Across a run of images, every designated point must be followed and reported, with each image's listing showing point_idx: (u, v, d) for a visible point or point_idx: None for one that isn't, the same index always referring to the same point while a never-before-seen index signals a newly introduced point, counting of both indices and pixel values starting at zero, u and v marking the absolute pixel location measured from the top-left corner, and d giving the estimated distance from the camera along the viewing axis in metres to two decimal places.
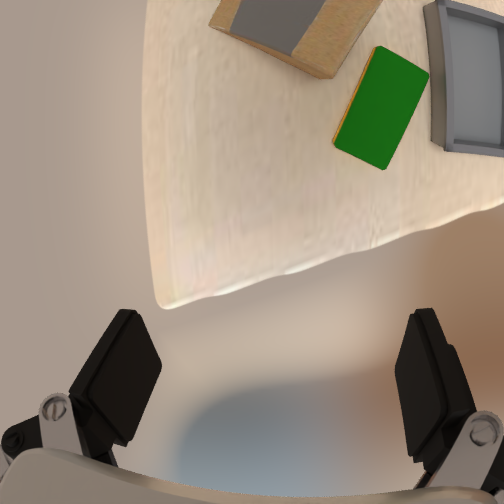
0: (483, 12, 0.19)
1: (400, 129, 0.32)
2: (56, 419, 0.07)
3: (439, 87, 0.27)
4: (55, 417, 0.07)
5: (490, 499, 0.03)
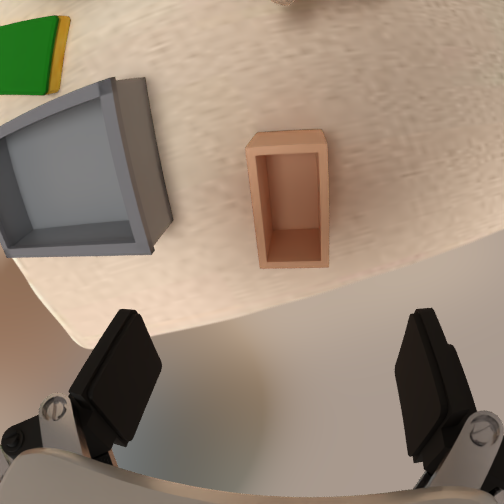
0: (124, 175, 0.19)
1: None
2: (56, 419, 0.07)
3: None
4: (55, 417, 0.07)
5: (490, 499, 0.03)
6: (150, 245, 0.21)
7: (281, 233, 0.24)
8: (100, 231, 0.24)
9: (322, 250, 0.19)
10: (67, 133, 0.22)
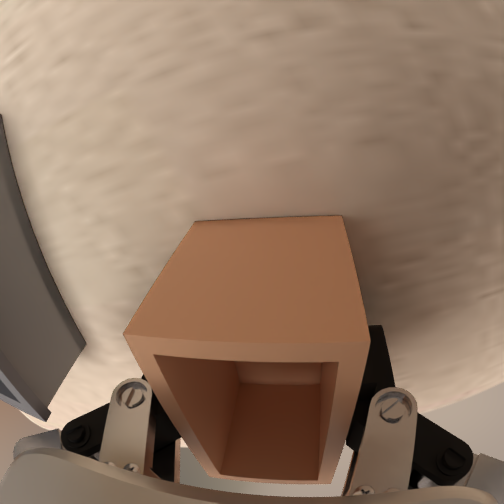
0: None
1: None
2: (130, 405, 0.07)
3: None
4: (129, 403, 0.07)
5: (490, 499, 0.03)
6: (40, 410, 0.10)
7: (253, 395, 0.12)
8: None
9: (322, 474, 0.08)
10: None
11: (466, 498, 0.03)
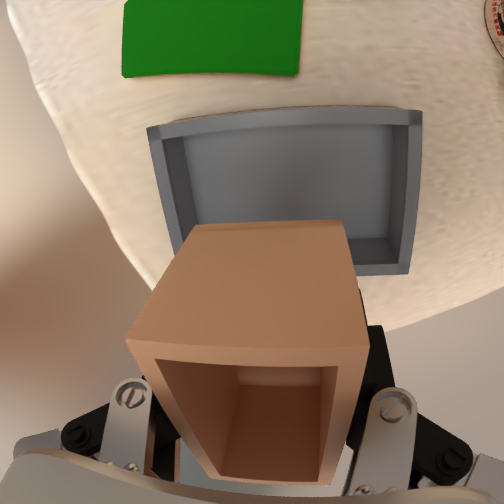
0: (413, 202, 0.20)
1: (185, 65, 0.20)
2: (130, 405, 0.07)
3: None
4: (129, 403, 0.07)
5: (490, 499, 0.03)
6: (408, 265, 0.22)
7: (253, 396, 0.12)
8: None
9: (321, 475, 0.08)
10: (298, 140, 0.23)
11: (466, 498, 0.03)
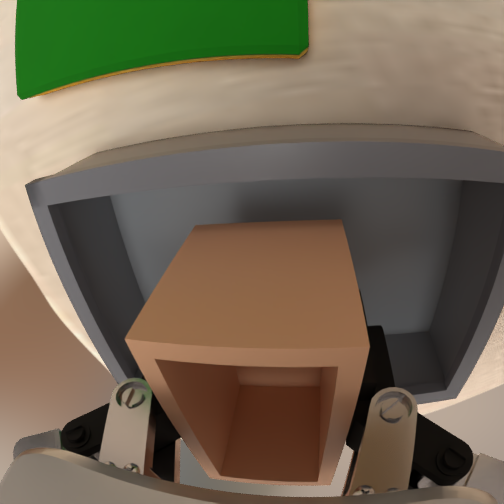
0: (492, 315, 0.10)
1: (97, 61, 0.10)
2: (130, 405, 0.07)
3: (216, 141, 0.10)
4: (129, 403, 0.07)
5: (490, 499, 0.03)
6: None
7: (253, 397, 0.12)
8: None
9: (321, 475, 0.08)
10: (300, 189, 0.13)
11: (466, 498, 0.03)
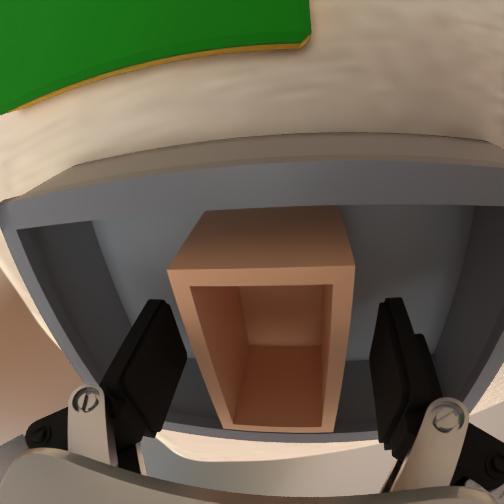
0: None
1: (72, 66, 0.08)
2: (86, 410, 0.07)
3: (197, 156, 0.09)
4: (85, 408, 0.07)
5: (490, 499, 0.03)
6: None
7: (261, 355, 0.14)
8: (345, 389, 0.14)
9: (324, 417, 0.10)
10: None
11: (466, 498, 0.03)
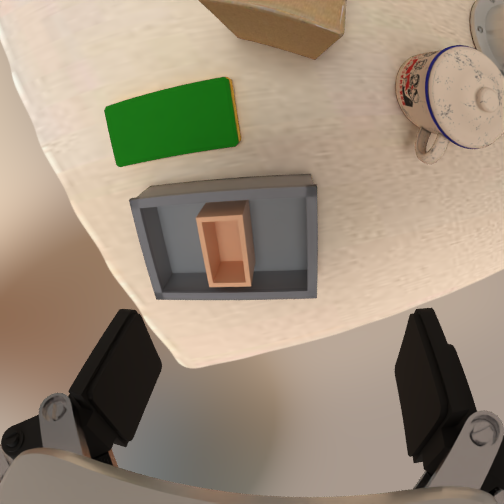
0: (313, 249, 0.31)
1: (160, 152, 0.31)
2: (56, 419, 0.07)
3: (203, 187, 0.31)
4: (55, 417, 0.07)
5: (490, 499, 0.03)
6: (316, 292, 0.33)
7: (225, 263, 0.36)
8: (261, 279, 0.36)
9: (245, 276, 0.32)
10: None
11: (466, 498, 0.03)
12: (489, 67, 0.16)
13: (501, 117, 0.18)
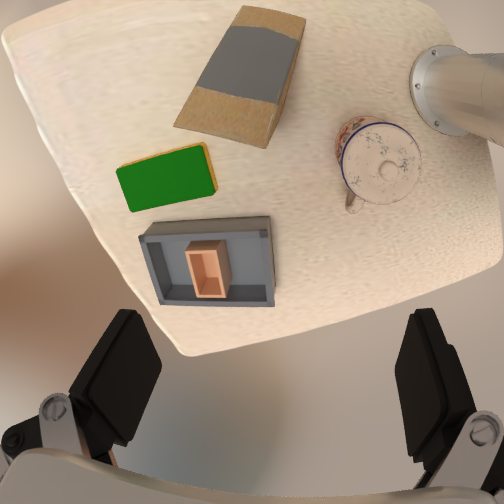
0: (268, 273, 0.43)
1: (160, 202, 0.43)
2: (56, 419, 0.07)
3: (190, 227, 0.44)
4: (55, 417, 0.07)
5: (490, 499, 0.03)
6: (274, 302, 0.46)
7: (210, 279, 0.49)
8: (236, 291, 0.49)
9: (221, 290, 0.45)
10: None
11: (466, 498, 0.03)
12: (399, 139, 0.27)
13: (408, 179, 0.29)
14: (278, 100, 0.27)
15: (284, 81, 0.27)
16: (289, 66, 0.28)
